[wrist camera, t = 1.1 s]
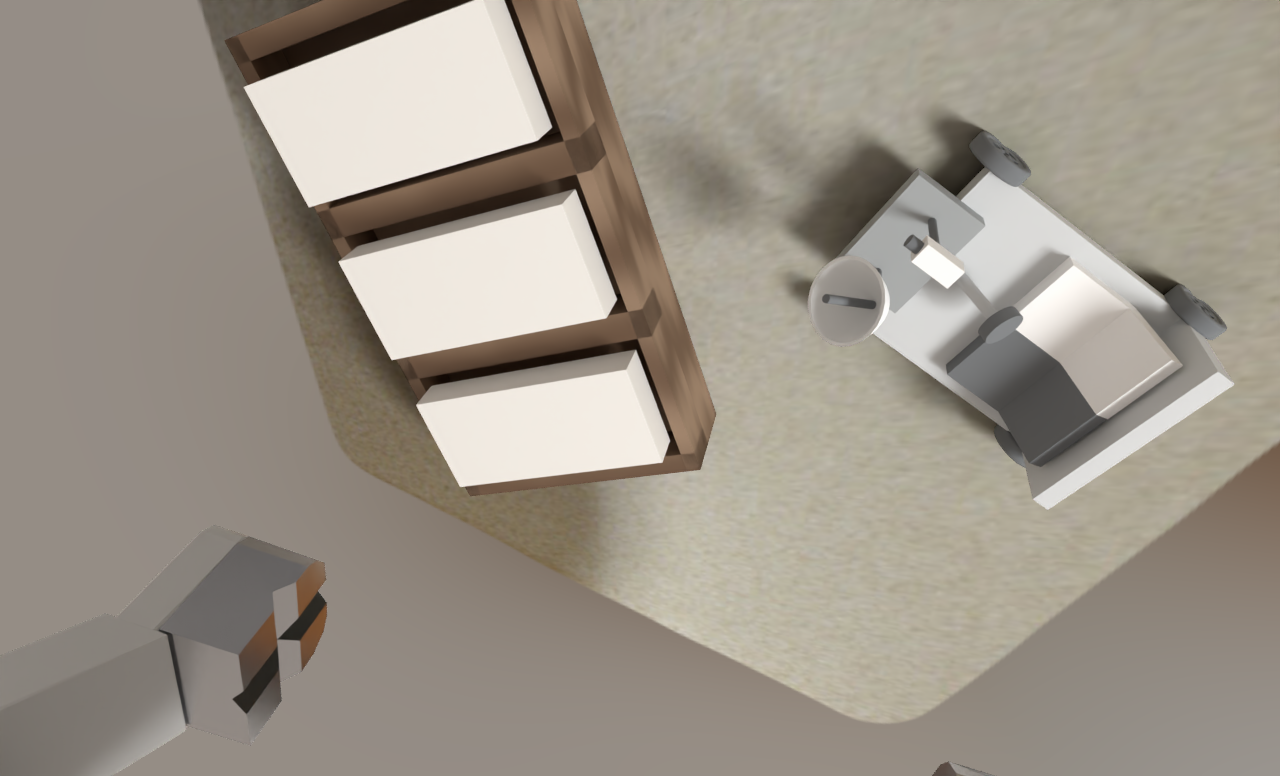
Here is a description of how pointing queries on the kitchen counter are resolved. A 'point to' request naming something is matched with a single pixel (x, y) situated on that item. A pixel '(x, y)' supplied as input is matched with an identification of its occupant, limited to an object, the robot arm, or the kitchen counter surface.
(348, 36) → the brown boxy piece
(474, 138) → the switch
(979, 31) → the kitchen counter surface
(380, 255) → the switch
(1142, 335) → the toy car
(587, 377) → the switch
